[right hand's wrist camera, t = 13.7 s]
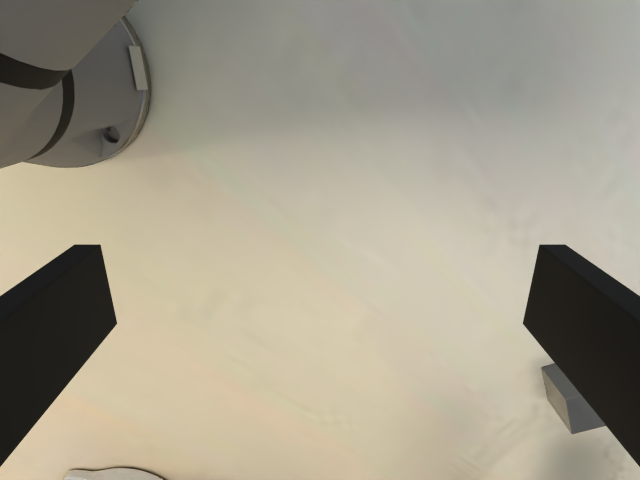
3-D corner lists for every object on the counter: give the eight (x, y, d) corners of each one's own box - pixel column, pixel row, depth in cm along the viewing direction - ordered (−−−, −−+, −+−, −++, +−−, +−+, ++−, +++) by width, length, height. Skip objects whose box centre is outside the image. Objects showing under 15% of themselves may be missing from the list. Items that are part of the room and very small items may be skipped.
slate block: (547, 400, 48) (572, 434, 44) (541, 367, 47) (565, 399, 42) (591, 388, 48) (621, 422, 43) (586, 354, 46) (616, 386, 41)
